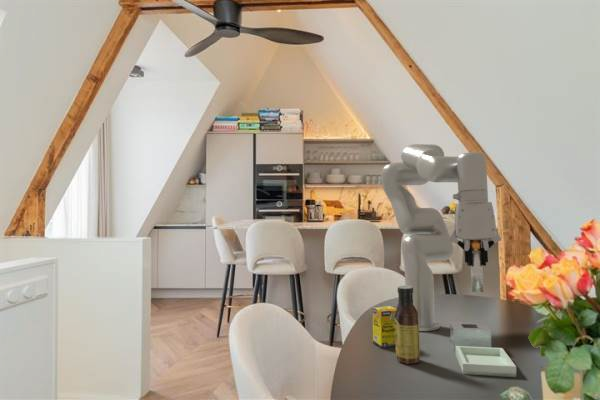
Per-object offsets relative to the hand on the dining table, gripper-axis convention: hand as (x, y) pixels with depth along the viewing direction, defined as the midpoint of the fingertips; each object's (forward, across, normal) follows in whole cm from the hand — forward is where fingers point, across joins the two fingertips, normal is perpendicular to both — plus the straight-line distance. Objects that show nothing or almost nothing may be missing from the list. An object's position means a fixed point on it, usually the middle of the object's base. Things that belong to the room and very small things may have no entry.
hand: (476, 264), depth 118 cm
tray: (+25, 0, -5) cm, 26 cm away
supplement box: (+25, -25, +8) cm, 36 cm away
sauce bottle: (+25, -19, -5) cm, 32 cm away
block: (+25, -1, +10) cm, 27 cm away
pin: (+7, 0, 0) cm, 7 cm away
